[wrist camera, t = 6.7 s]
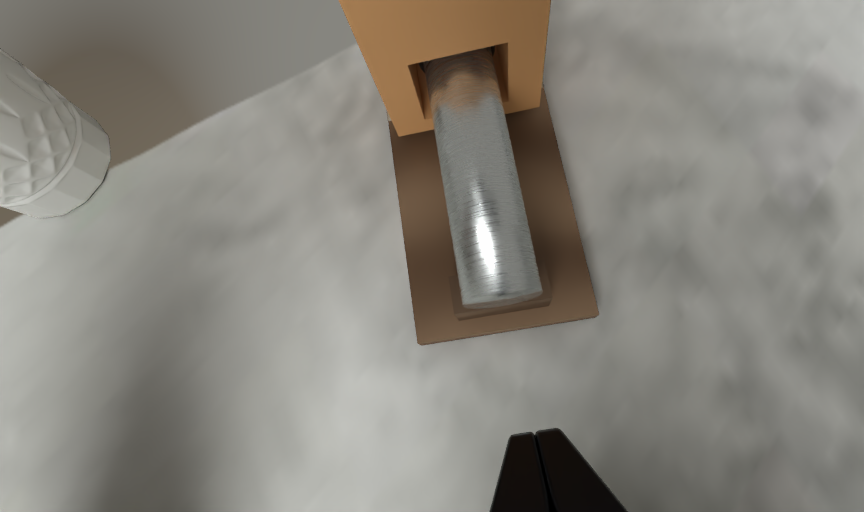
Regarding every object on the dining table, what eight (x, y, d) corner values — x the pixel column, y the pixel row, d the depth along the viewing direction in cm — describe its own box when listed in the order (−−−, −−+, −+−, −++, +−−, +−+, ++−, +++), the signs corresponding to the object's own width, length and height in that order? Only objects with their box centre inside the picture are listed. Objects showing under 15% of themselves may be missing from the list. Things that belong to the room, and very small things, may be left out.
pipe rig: (595, 317, 21) (627, 290, 16) (421, 345, 22) (389, 329, 16) (518, -1, 27) (520, -111, 21) (379, 32, 28) (344, -65, 22)
